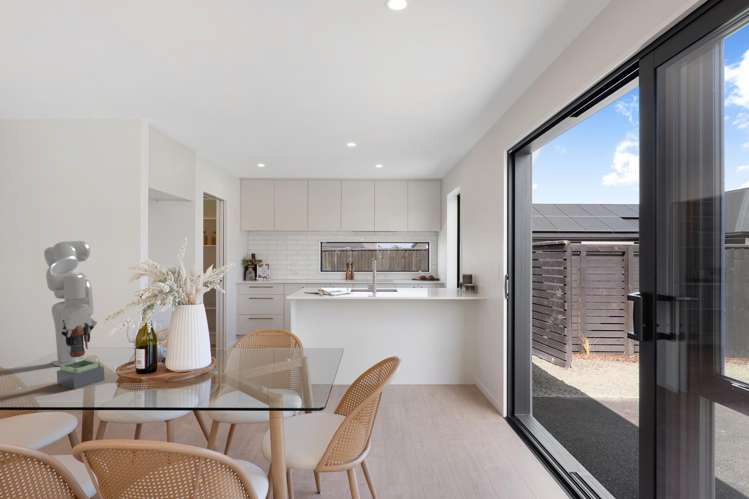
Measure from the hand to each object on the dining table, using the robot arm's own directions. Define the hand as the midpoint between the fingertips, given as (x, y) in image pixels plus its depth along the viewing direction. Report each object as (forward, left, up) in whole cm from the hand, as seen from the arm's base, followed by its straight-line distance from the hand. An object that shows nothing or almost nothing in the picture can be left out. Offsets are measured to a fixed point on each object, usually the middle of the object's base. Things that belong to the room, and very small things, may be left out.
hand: (78, 343), depth 182 cm
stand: (0, 0, -17) cm, 17 cm away
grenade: (0, 0, -6) cm, 6 cm away
